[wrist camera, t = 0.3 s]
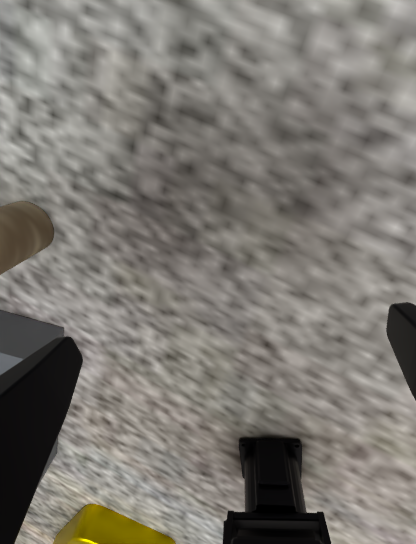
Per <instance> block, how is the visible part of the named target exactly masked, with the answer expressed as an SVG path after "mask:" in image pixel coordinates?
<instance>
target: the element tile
mask: <svg viewBox="0 0 416 544" xmlns="http://www.w3.org/2000/svg"><path fill="white" fill-rule="evenodd" d="M53 544H176V543H175V541H174V540H173V539H172V538H170V537H168V536H166V535H164V534H162V533H160V532H158V531H155V530H153V529H151V528H149V527H147V526H145V525H142V524H140V523H138V522H136V521H134V520H132V519H129V518H127V517H125V516H123V515H121V514H119V513H116V512H114V511H112V510H110V509H108V508H106V507H103V506H101V505H97V504H89V505H86V506H84V507H83V508H82V509H81V510H80V511H79V512H78V513H77V514H76V515H75V516H74V518H73V519H72V520H71V521H70V522H69V523H68V524H67V525H66V526H65V527H64V528H63V529H62V530H61V531H60V532H59V533H58V534H57V536H56V538H55V540H54V542H53Z"/></svg>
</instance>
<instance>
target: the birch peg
mask: <svg viewBox="0 0 416 544" xmlns="http://www.w3.org/2000/svg"><path fill="white" fill-rule="evenodd" d="M53 237H54V229H53V225H52V222H51V220H50V219H49V217H48V216H47V214H46V213H45V212H44V211H43V210H42V209H41V208H39V207H38V206H36V205H34V204H32V203H30V202H25V201H19V202H15V203H12V204H8V205H5V206H2V207H0V275H1V274H2V273H4V272H6V271H7V270H9V269H11V268H12V267H14V266H16V265H18V264H19V263H21V262H23V261H24V260H26V259H28V258H29V257H31V256H33V255H35V254H36V253H38V252H40V251H41V250H43V249H45V248H46V247H48V246H49V245H50V244H51V242H52V240H53Z"/></svg>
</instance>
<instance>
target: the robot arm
mask: <svg viewBox="0 0 416 544" xmlns="http://www.w3.org/2000/svg"><path fill="white" fill-rule="evenodd" d="M386 331H387V336H388V339H389V341H390V344H391V346H392V349H393V351H394V353H395V356H396V358H397V360H398V363H399V365H400V367H401V370H402V372H403V374H404V377H405V379H406V382H407V384H408V386H409V388H410V390H411V393H412V395H413V396H414V398H415V400H416V305H414V304H412V303H408V302H406V303H396V304H392V305H391V306H390V308H389V313H388V320H387V328H386ZM82 362H83V358H82V354H81V353H80V351H79V349H78V347H77V345H76V344H75V342H74V340H73V339H72V338H71V337H68V336H67V337H58V338H55V339H54V340H52V341H51V342H49V343H48V344H46V345H45V346H43V347H42V348H40V349H39V350H37V351H36V352H34V353H33V354H31V355H30V356H28V357H27V358H25V359H24V360H22V361H21V362H19V363H18V364H16V365H15V366H13V367H12V368H10V369H9V370H7V371H6V372H4V373H3V374H1V375H0V544H14V543H15V540H16V538H17V536H18V533H19V531H20V528H21V526H22V523H23V521H24V518H25V516H26V513H27V511H28V508H29V506H30V503H31V501H32V499H33V496H34V494H35V491H36V489H37V486H38V484H39V481H40V479H41V476H42V474H43V471H44V469H45V467H46V464H47V462H48V459H49V457H50V454H51V452H52V449H53V447H54V444H55V442H56V439H57V437H58V434H59V432H60V430H61V427H62V425H63V422H64V420H65V417H66V414H67V412H68V409H69V406H70V403H71V399H72V396H73V393H74V389H75V386H76V383H77V379H78V376H79V373H80V369H81V366H82ZM239 450H240V459H241V467H242V476H243V478H244V479H245V512H234V511H228V514H227V520H226V521H224V532H223V544H331V541H330V537H329V533H328V529H327V525H326V521H325V517H324V513H323V512H317V513H307V512H306V507H305V501H304V495H303V490H302V484H301V465H302V444H301V441H300V440H298V439H248V438H243V439H240V440H239Z"/></svg>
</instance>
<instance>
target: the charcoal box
mask: <svg viewBox="0 0 416 544" xmlns="http://www.w3.org/2000/svg"><path fill="white" fill-rule="evenodd" d="M63 331H64V328H62V327H59V326H55V325H52V324H48V323H44V322H41V321H37V320H34V319H30V318H27V317H23V316H19V315H16V314H12V313H9V312H5V311H2V310H0V375H1V374H3V373H4V372H6V371H7V370H9V369H10V368H12V367H13V366H15V365H16V364H18V363H19V362H21V361H22V360H24V359H25V358H27V357H28V356H30V355H31V354H33V353H34V352H36V351H37V350H39V349H40V348H42V347H43V346H45V345H46V344H48V343H49V342H51V341H52V340H54V339H55V338H58V337H63ZM57 441H58V437H57V439H56V442H55V444H54V447H53V449H52V452H51V454H50V457H49V459H48V462H47V464H46V467H45V469H44V471H43V474H42V476H41V479H40V481H39V483H40V482H41V480H42V478H43V476H44V475H45V473H46V471H47V469H48V468H49V466H50V464H51V462H52V461H53V459H54V457H55V456H56V454H57ZM38 485H39V484H38ZM37 487H38V486H37Z"/></svg>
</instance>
